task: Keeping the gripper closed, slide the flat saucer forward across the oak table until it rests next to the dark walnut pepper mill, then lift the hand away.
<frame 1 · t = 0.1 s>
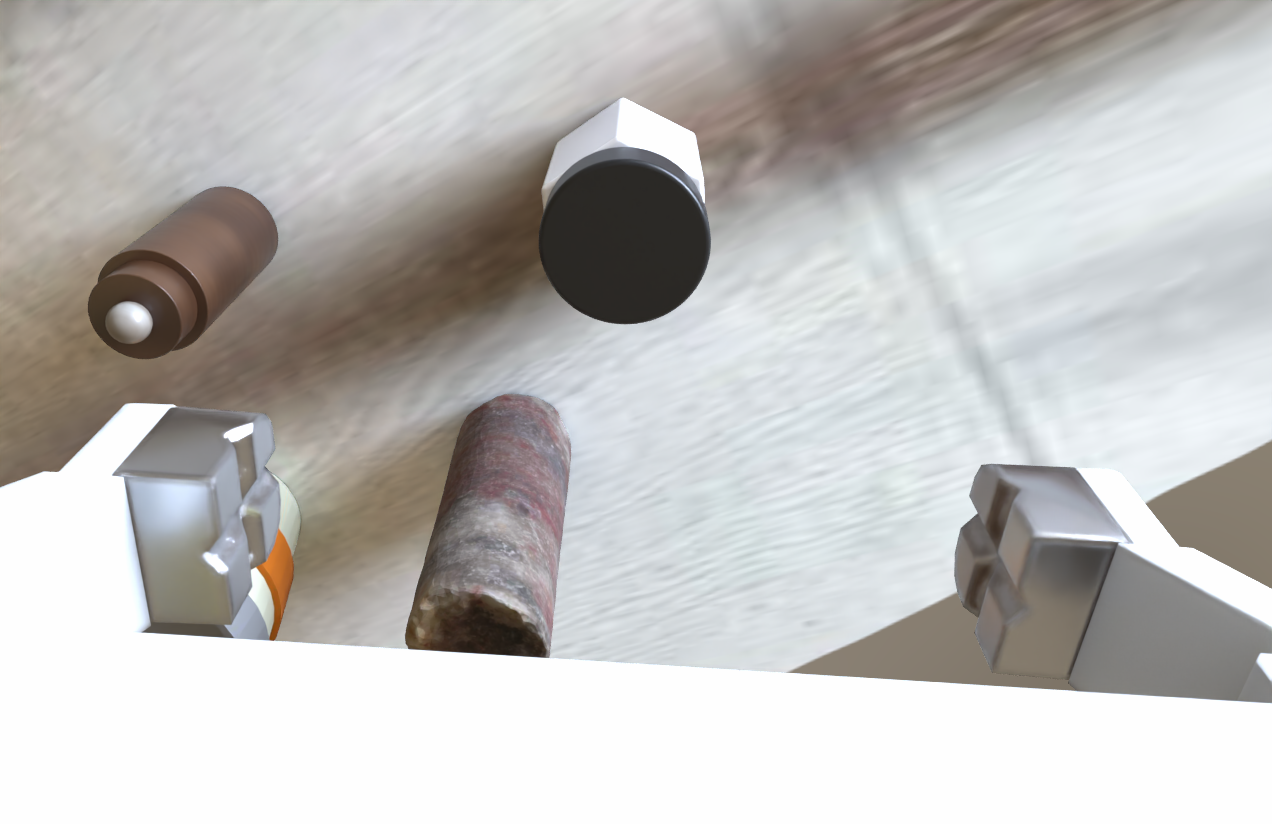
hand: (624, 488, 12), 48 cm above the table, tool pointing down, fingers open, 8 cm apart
pepper mill: (231, 231, 60), on the table
reusable coffee cup: (235, 511, 70), on the table
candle: (517, 441, 67), on the table
jar: (628, 176, 59), on the table
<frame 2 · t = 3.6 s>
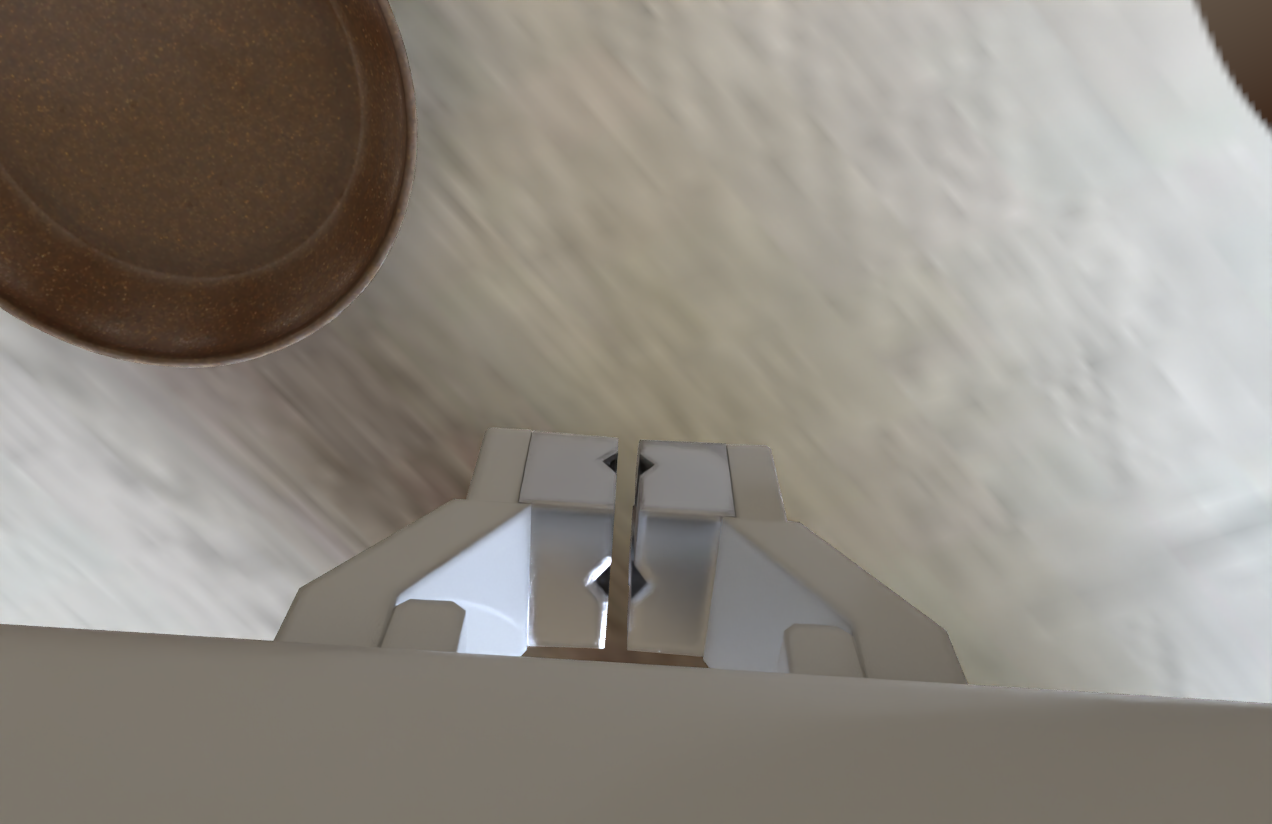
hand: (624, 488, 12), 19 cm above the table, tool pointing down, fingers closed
saucer: (170, 84, 29), on the table
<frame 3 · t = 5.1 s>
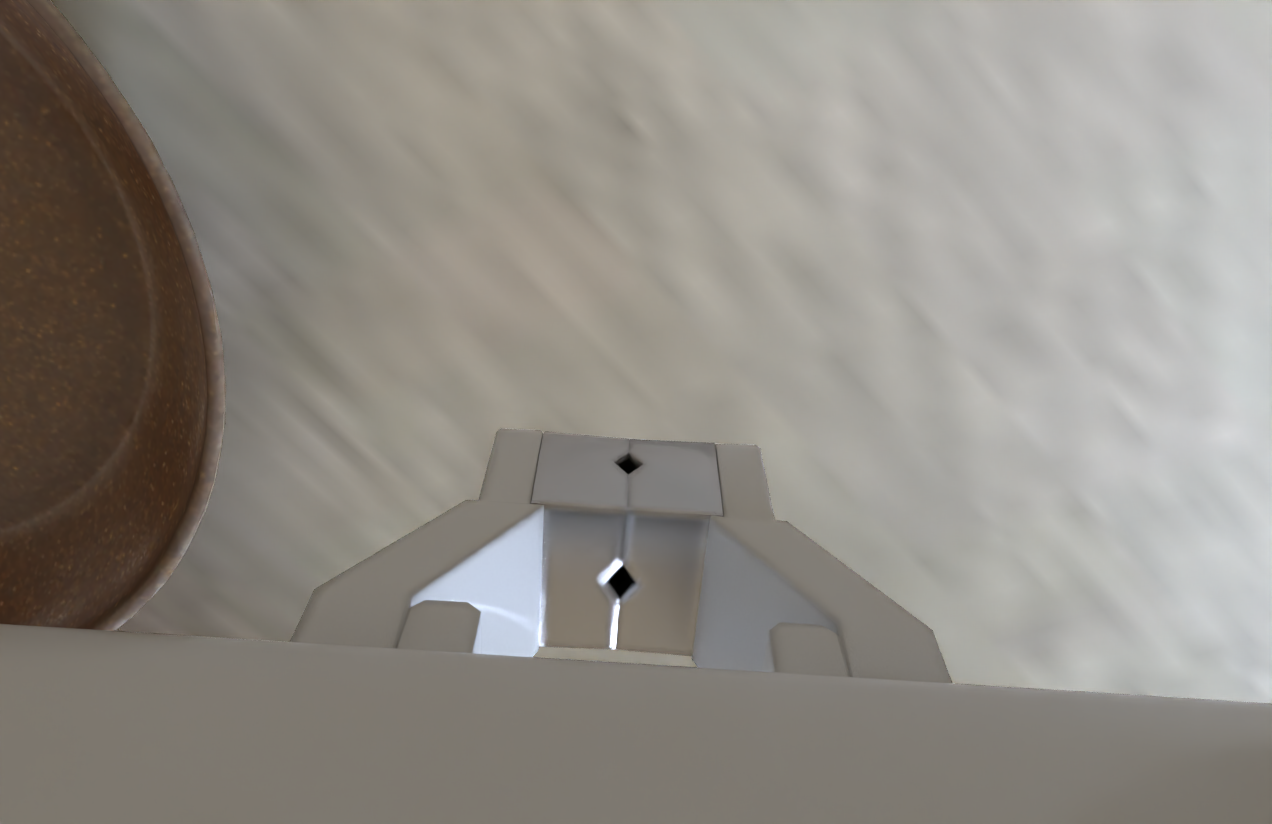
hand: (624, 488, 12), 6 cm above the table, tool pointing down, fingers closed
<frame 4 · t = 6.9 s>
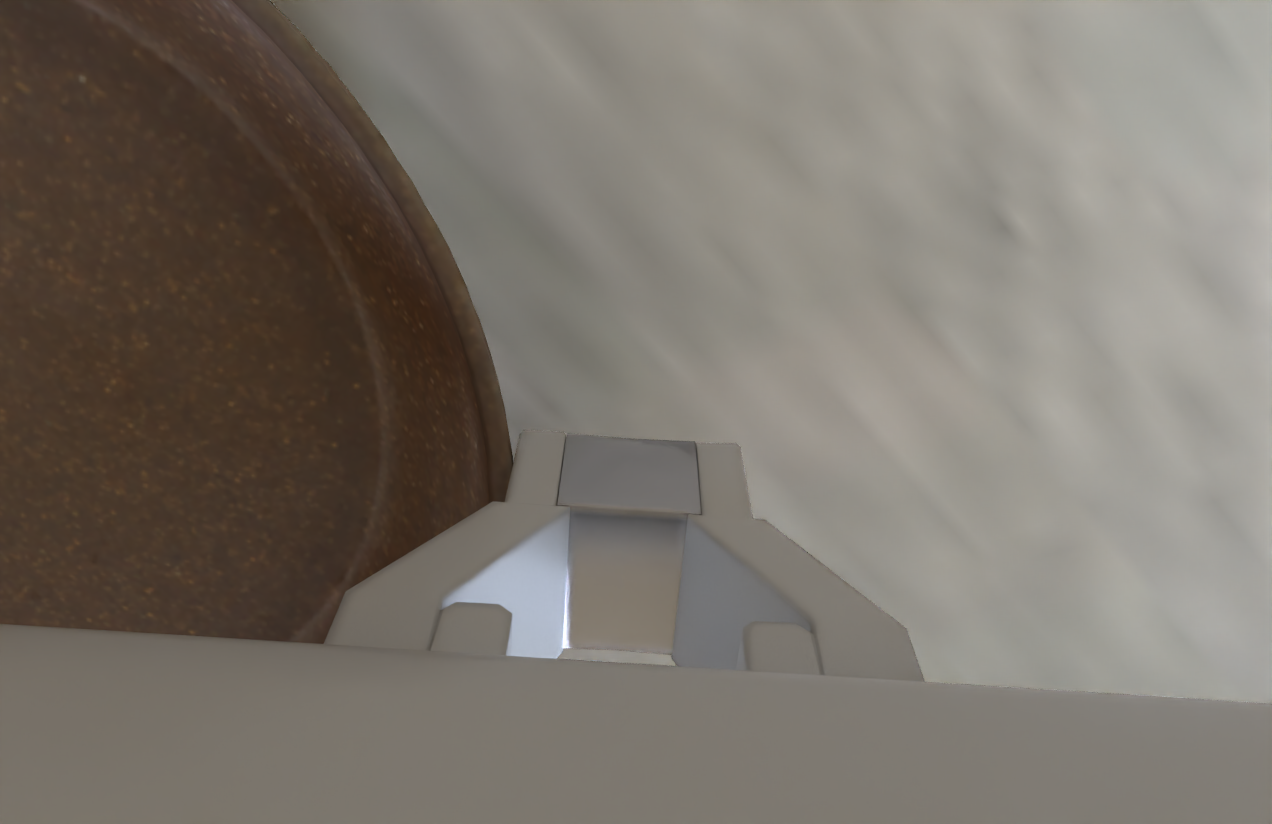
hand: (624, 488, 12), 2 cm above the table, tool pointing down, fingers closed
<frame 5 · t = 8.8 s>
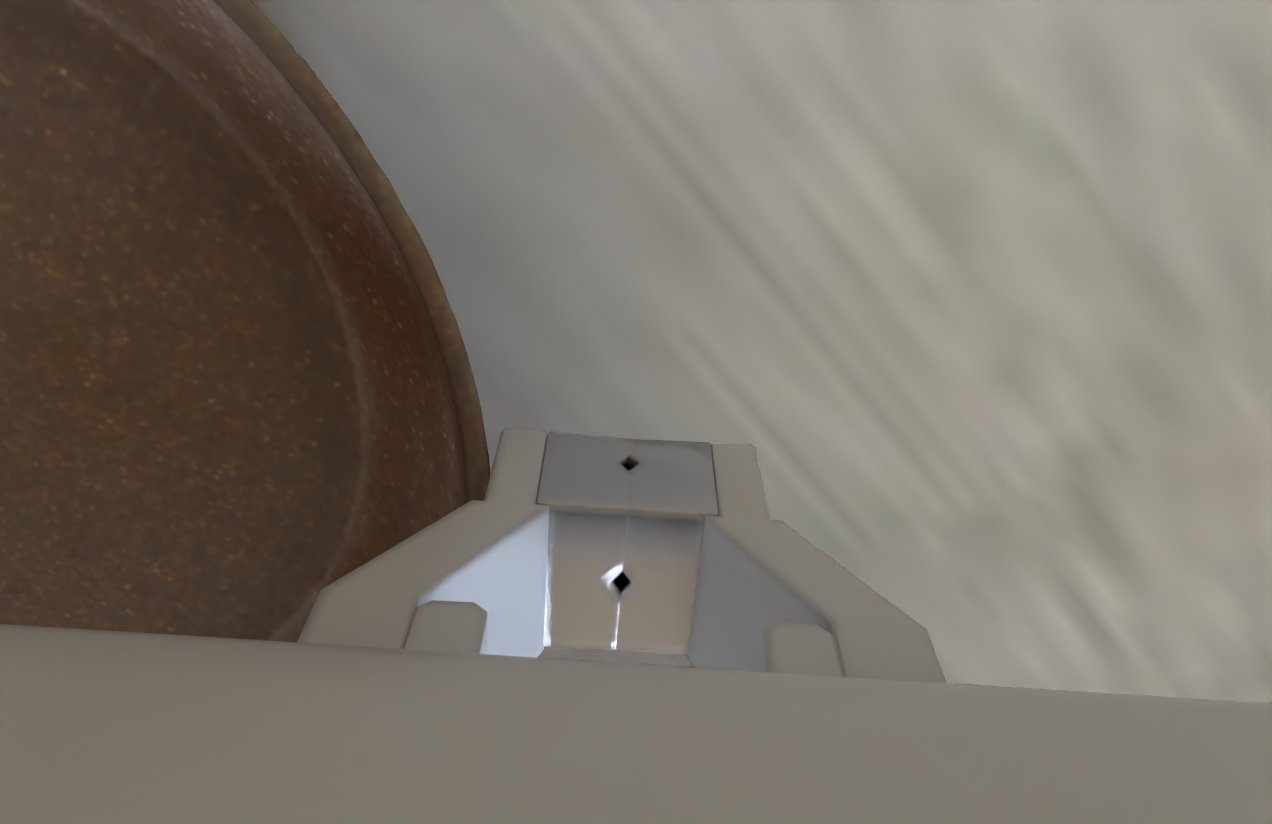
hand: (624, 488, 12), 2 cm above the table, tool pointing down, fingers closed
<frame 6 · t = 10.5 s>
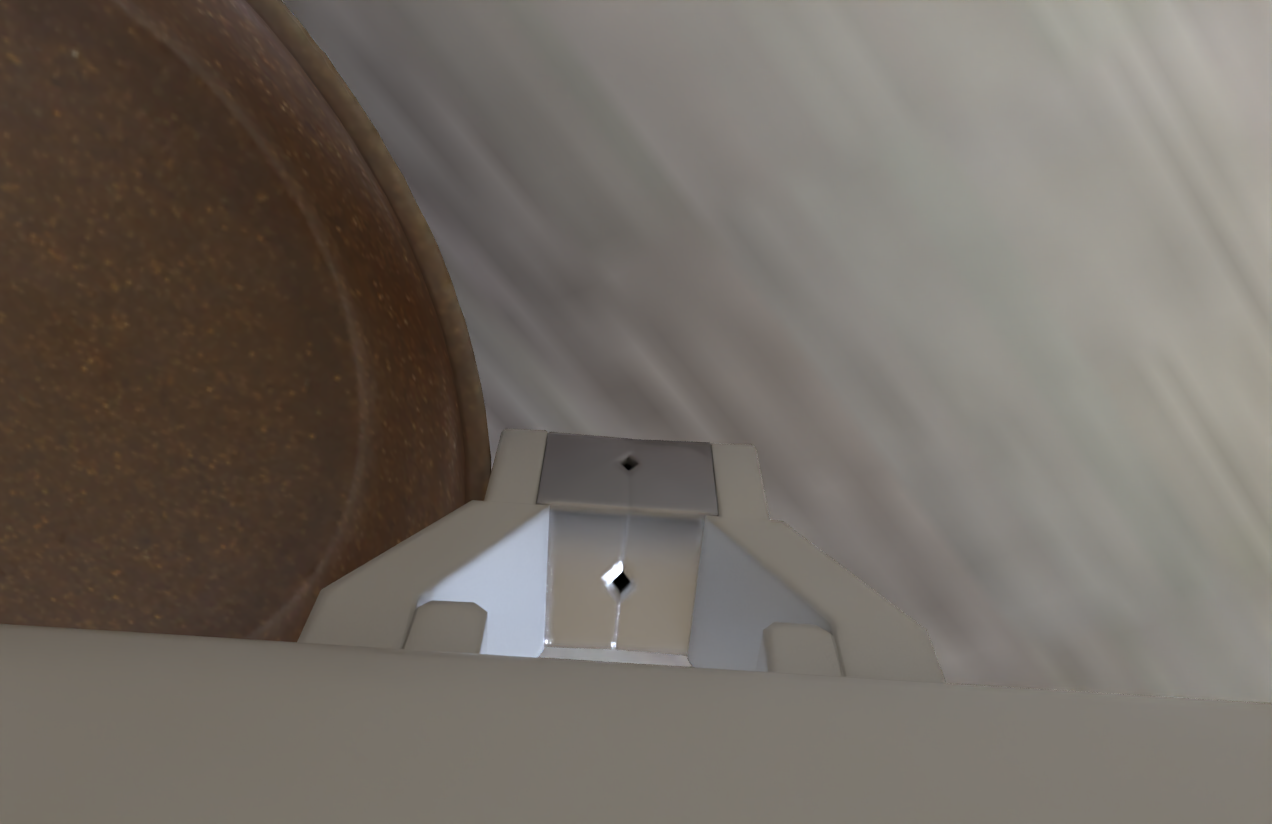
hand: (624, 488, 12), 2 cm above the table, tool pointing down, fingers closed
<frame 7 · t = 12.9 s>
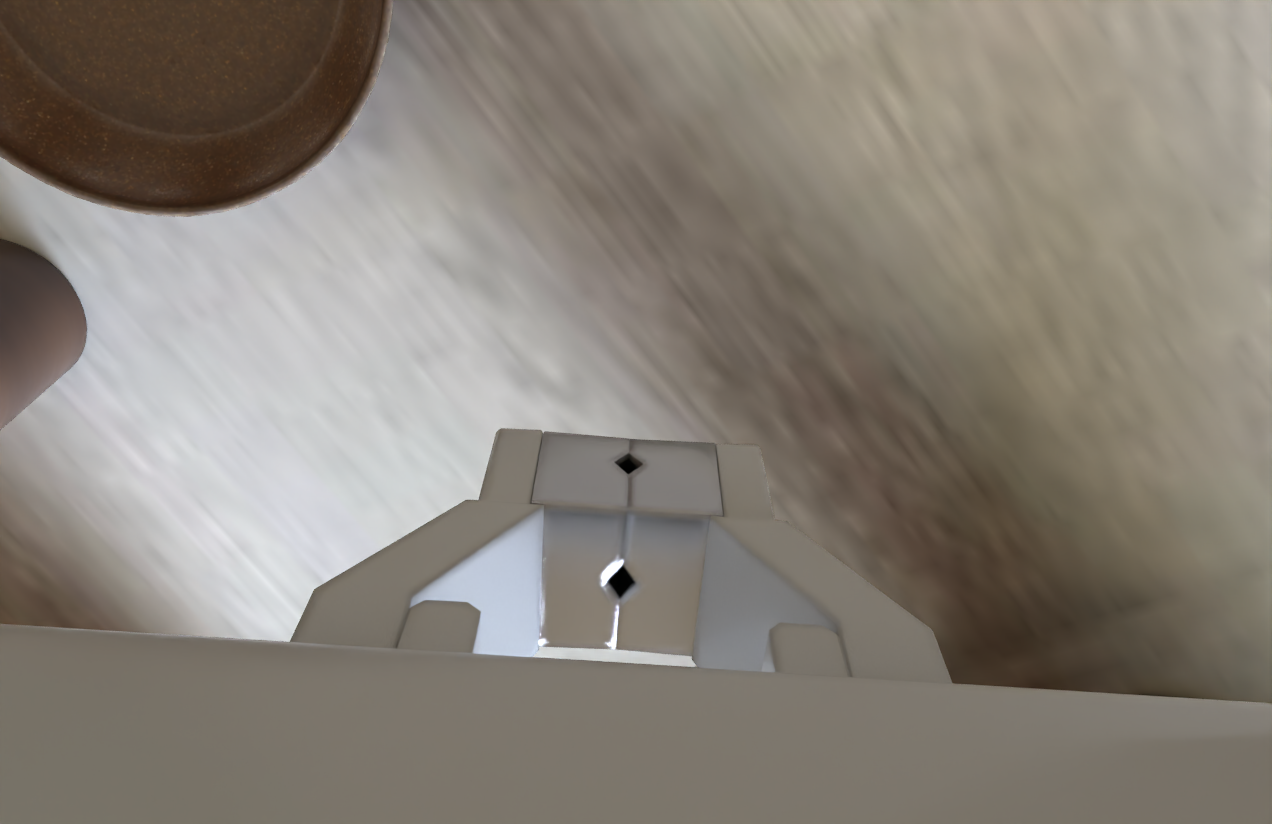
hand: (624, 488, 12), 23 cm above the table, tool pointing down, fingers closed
pepper mill: (6, 312, 35), on the table
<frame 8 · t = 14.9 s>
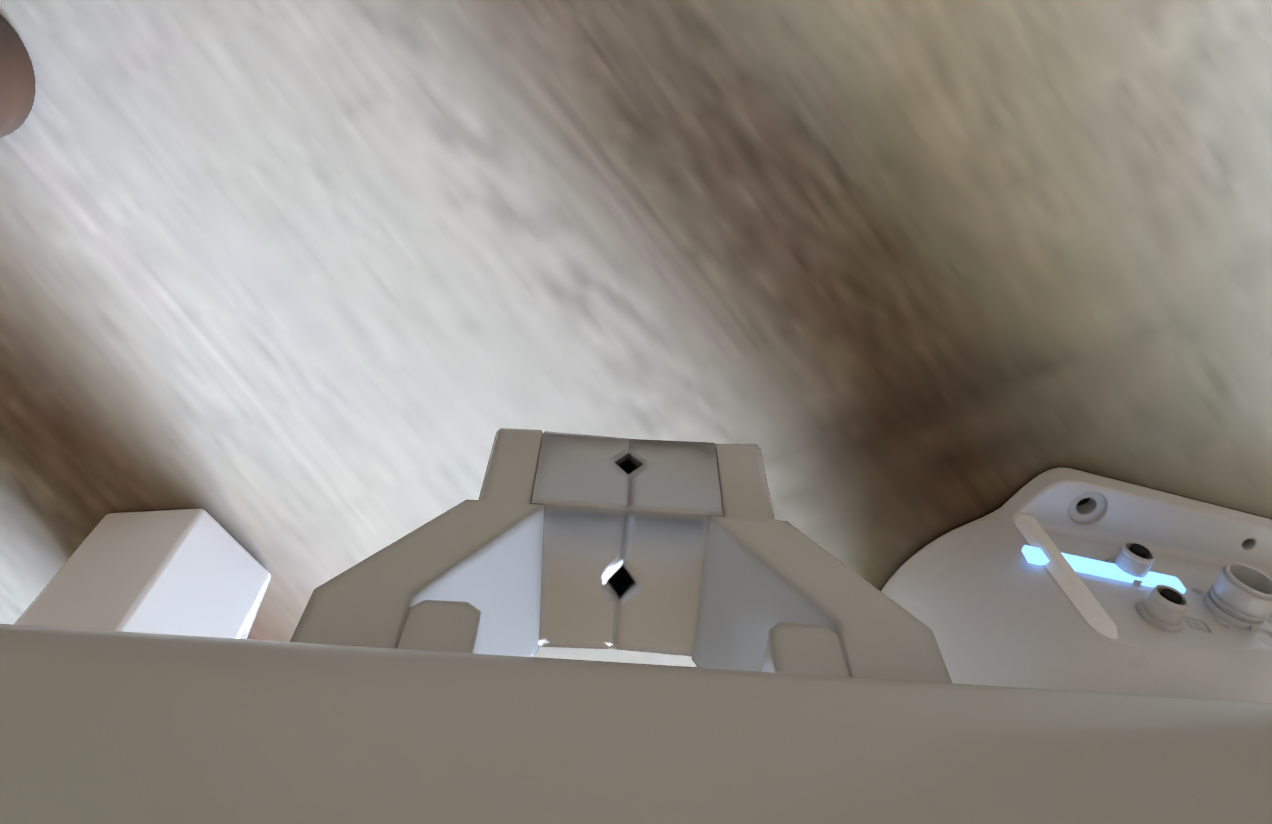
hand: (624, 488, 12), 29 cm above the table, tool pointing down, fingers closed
jar: (181, 574, 49), on the table
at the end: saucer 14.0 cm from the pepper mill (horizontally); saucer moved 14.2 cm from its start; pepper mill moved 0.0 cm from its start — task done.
